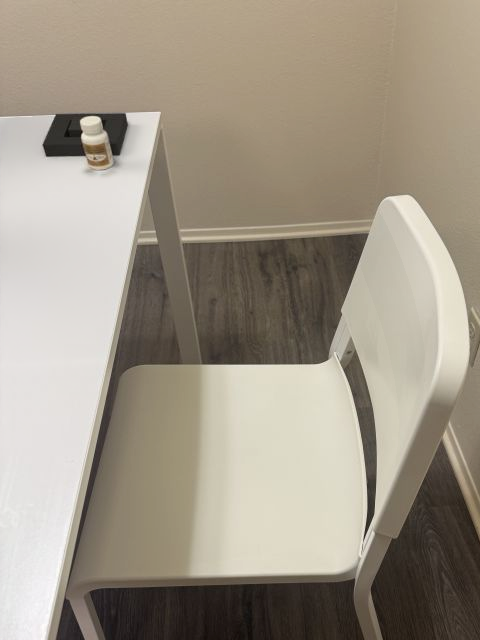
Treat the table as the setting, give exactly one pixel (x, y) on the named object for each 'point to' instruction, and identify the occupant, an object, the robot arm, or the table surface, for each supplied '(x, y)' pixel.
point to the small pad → (76, 127)
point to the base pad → (65, 145)
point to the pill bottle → (96, 143)
